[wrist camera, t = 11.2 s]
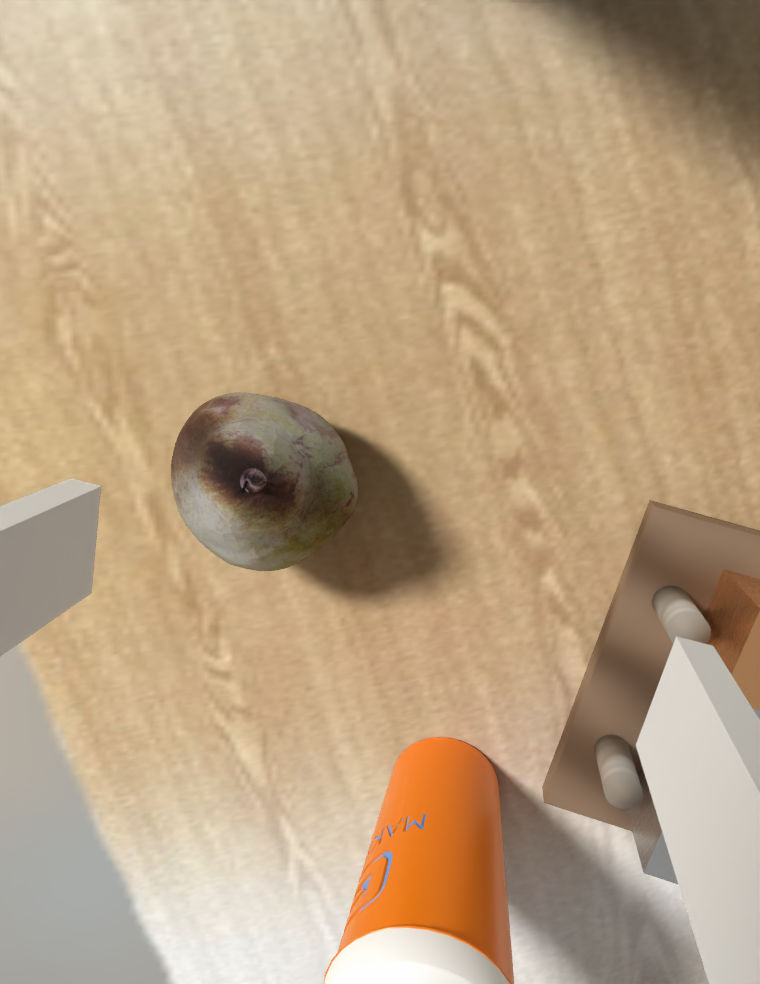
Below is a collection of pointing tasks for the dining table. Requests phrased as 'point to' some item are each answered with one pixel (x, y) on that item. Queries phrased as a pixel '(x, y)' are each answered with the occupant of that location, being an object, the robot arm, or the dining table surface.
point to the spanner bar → (754, 666)
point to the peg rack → (641, 654)
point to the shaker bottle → (432, 878)
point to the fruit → (261, 480)
